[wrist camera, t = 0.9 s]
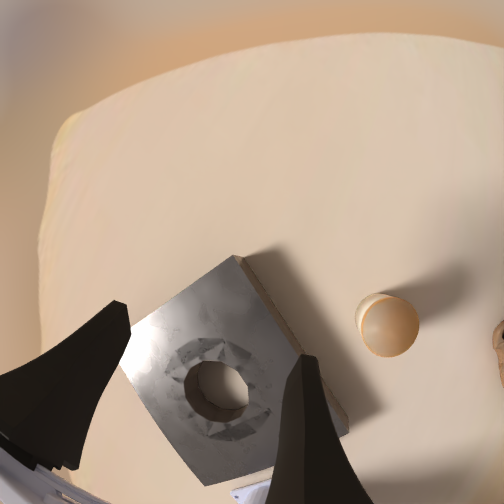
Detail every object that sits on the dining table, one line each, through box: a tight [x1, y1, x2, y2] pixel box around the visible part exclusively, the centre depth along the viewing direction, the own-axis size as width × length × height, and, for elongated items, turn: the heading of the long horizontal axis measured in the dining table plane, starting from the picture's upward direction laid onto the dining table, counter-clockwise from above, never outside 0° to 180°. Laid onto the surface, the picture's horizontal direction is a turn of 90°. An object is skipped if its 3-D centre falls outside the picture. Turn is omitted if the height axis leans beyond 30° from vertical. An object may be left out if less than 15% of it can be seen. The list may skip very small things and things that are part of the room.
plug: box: [355, 293, 419, 357], centre depth 21 cm, size 4×4×6 cm
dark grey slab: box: [119, 255, 349, 486], centre depth 25 cm, size 18×16×3 cm
